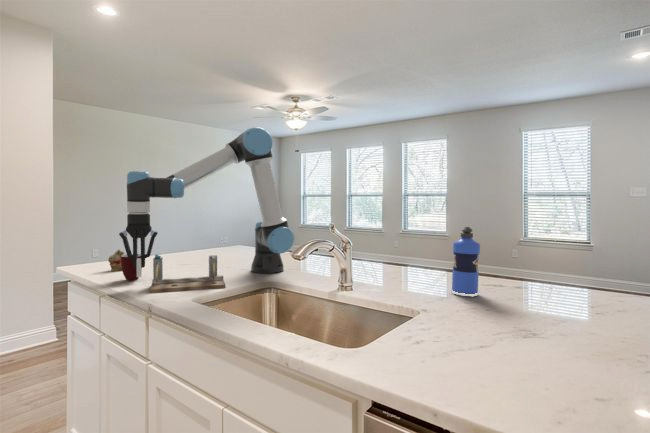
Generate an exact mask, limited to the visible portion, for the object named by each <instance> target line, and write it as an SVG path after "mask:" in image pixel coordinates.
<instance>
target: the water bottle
mask: <svg viewBox="0 0 650 433" xmlns="http://www.w3.org/2000/svg"><path fill="white" fill-rule="evenodd" d="M461 231H462V232H460V239H458V240H456V241H454V242H452V253H453V266H452V276H451V278H452V279H451V281H452V282H451V291H452V290H453V291H455V292H458V293H465V294H475V293H478V294H479V258H480V253H481V244H480V243H479V242H477V241H476V240H474V239H473V237H474V233H472V232H474V231H473V229H472V228H471V227H469V226H464V227H463V228H462V229H461Z"/></svg>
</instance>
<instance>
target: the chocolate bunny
mask: <svg viewBox="0 0 650 433" xmlns="http://www.w3.org/2000/svg"><path fill="white" fill-rule="evenodd" d="M122 255H125V251H123V250H121V249H120V248H119V249H117V250H116V251H115V253H114V254H111V255H110V256H109V257H108V263H109V266H110V268H111V269H110V271H111V272H123V271H122V266H121V256H122Z"/></svg>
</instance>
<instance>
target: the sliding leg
mask: <svg viewBox="0 0 650 433" xmlns="http://www.w3.org/2000/svg"><path fill="white" fill-rule="evenodd" d="M152 260H153V261H152V262H153V263H152V264H153V265H152V266H153V267H152V268H153V269H152V270H153V273H152V274H153V278H152V280H156V282H158V280H162V279H164V278H163V276H164V275H163V274H164V272H163V271H164V268H163V265H164V264H163V263H164V262H163V257H162V254H155V255H154V257H153V259H152Z"/></svg>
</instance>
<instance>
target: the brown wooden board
mask: <svg viewBox="0 0 650 433" xmlns="http://www.w3.org/2000/svg"><path fill="white" fill-rule="evenodd" d="M222 288H223V289H225V288H226V283H225V280H224V275H217V276H215V279H213V277H209V275H208V276H193V277H192V276H191V277H176V278H175V277H174V278H162V280H158V282H156V280H153V279H152V280H151V286H150V289H149V293H150V294H151V293H152V292H154V293H165V292H167V293H168V292H178V291H180V292H181V291H182V292H183V291H193V290H207V289H208V290H212V289H222Z"/></svg>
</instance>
